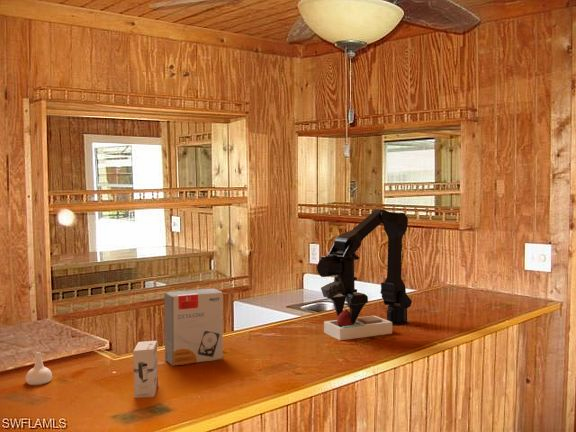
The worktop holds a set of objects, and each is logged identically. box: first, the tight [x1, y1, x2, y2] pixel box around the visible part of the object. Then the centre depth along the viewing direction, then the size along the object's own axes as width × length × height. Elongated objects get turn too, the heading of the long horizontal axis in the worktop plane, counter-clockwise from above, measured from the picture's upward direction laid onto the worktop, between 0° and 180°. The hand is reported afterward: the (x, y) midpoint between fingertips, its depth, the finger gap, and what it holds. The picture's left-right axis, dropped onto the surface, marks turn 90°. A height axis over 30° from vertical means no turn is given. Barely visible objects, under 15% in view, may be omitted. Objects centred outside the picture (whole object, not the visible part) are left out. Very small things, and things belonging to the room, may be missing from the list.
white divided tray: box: [323, 315, 393, 341], centre depth 206 cm, size 20×11×4 cm, turn 114°
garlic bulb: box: [25, 351, 53, 386], centre depth 159 cm, size 6×6×8 cm
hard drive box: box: [163, 287, 224, 367], centre depth 177 cm, size 16×8×20 cm, turn 117°
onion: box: [336, 307, 355, 327], centre depth 203 cm, size 6×6×8 cm
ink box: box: [132, 340, 159, 399], centre depth 151 cm, size 9×5×12 cm, turn 5°
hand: (346, 320), depth 204 cm, fingers open, 9 cm apart
